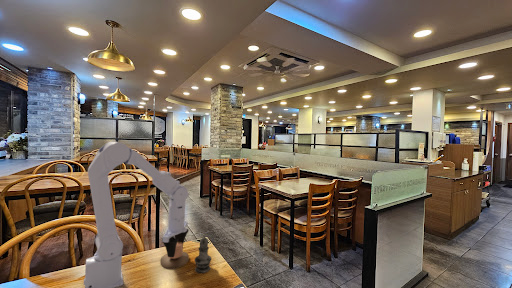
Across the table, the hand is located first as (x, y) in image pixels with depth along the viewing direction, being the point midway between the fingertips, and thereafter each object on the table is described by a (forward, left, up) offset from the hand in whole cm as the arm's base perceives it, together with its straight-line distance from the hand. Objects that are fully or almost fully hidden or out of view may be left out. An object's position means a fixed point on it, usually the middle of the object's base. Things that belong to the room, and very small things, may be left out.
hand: (175, 252), depth 82 cm
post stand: (0, 0, -3) cm, 3 cm away
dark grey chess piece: (+7, -10, -3) cm, 13 cm away
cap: (0, 0, -1) cm, 1 cm away
